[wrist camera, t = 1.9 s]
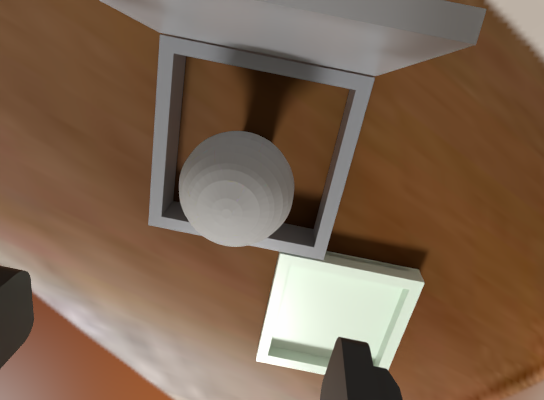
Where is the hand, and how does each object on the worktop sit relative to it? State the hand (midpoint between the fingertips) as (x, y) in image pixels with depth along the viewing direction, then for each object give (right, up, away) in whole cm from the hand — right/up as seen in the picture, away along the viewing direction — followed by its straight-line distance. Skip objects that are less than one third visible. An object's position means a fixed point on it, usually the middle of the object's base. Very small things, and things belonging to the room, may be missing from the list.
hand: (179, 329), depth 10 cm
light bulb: (+1, +7, +16) cm, 17 cm away
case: (+1, +7, +15) cm, 17 cm away
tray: (+7, -5, +20) cm, 22 cm away
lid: (+2, +10, +5) cm, 11 cm away
